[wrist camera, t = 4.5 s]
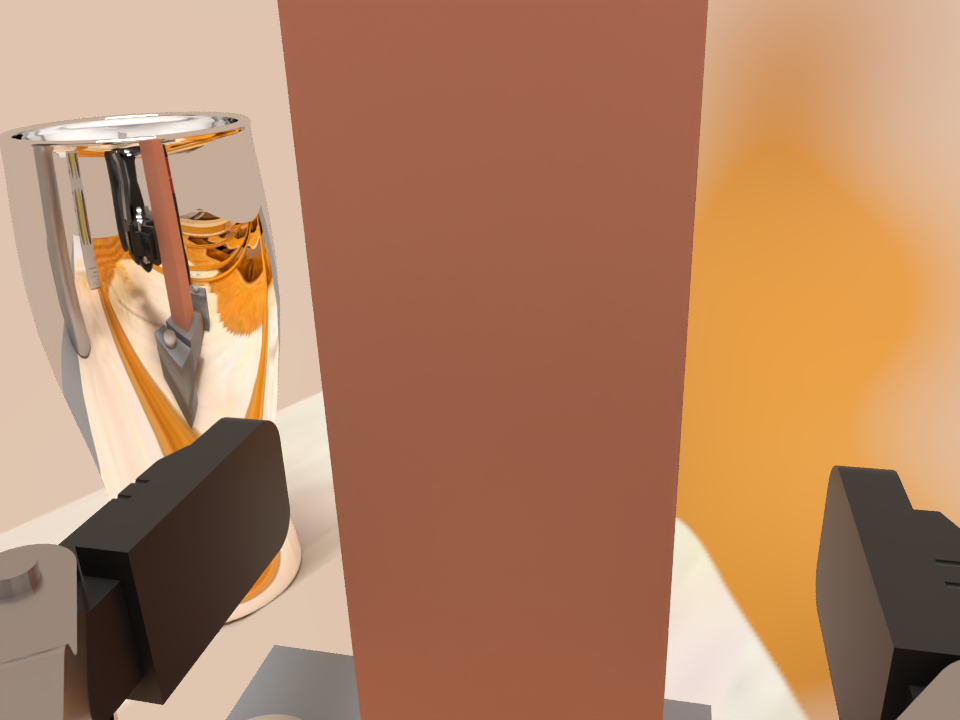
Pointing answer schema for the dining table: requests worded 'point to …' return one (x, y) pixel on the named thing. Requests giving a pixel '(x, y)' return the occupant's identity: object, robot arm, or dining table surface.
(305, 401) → the dining table surface
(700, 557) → the dining table surface
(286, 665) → the rail
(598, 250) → the tall salmon pink pillar
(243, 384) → the beer glass
